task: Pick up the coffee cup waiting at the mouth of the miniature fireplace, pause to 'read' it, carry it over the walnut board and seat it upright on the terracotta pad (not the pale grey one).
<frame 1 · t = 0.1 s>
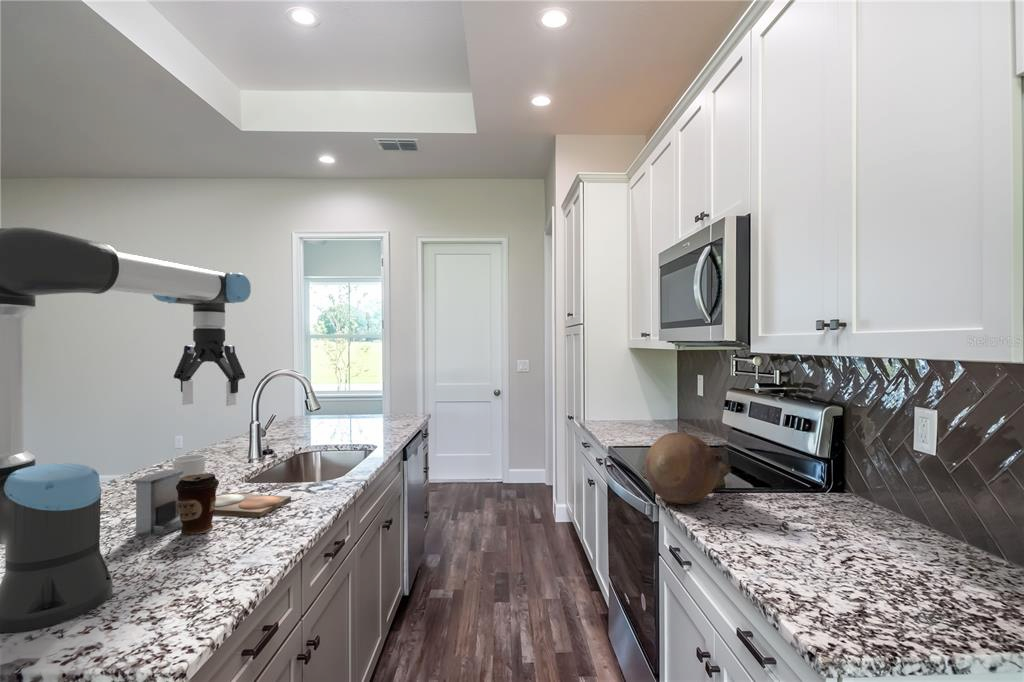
hand: (209, 404, 132), 28 cm above the countertop, fingers open, 13 cm apart
cup: (189, 500, 137), on the countertop
walnut board: (241, 506, 131), on the countertop
jug: (692, 499, 138), on the countertop
coffee cup: (196, 531, 114), on the countertop
miniature fireplace: (162, 528, 116), on the countertop
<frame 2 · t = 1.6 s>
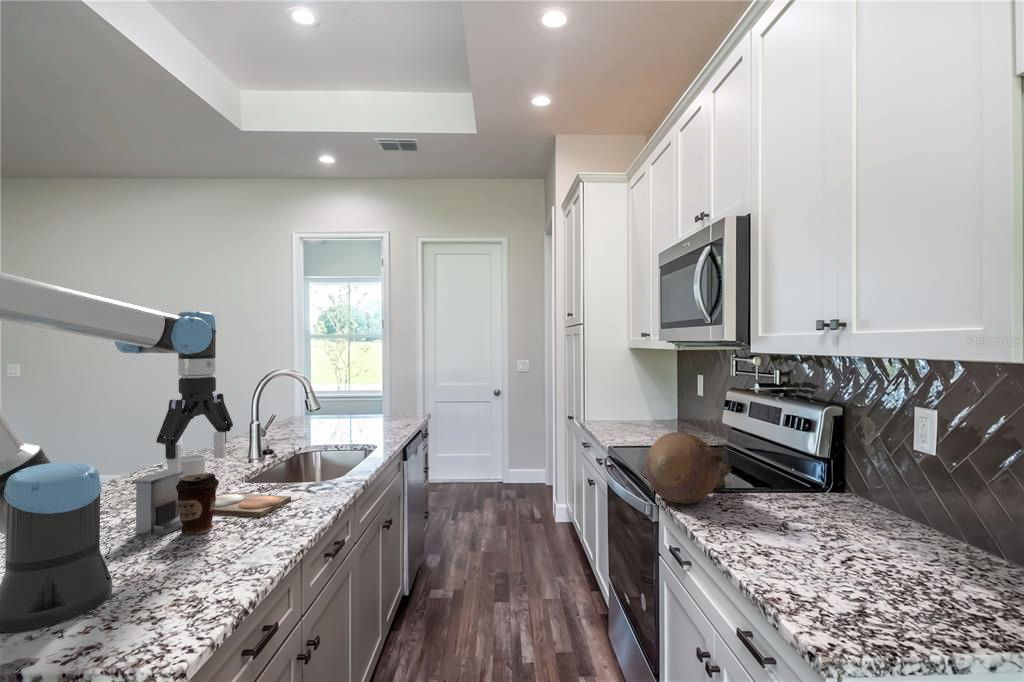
hand: (198, 464, 115), 16 cm above the countertop, fingers open, 13 cm apart
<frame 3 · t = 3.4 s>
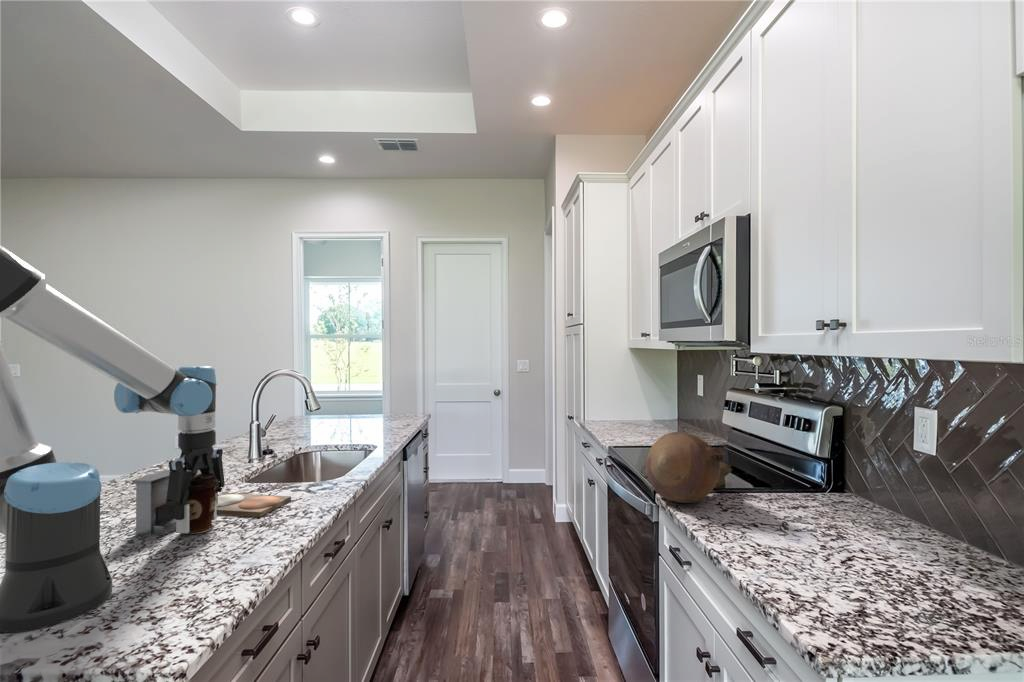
hand: (197, 525, 114), 1 cm above the countertop, fingers closed on coffee cup, 8 cm apart
coffee cup: (197, 531, 114), on the countertop, touching gripper
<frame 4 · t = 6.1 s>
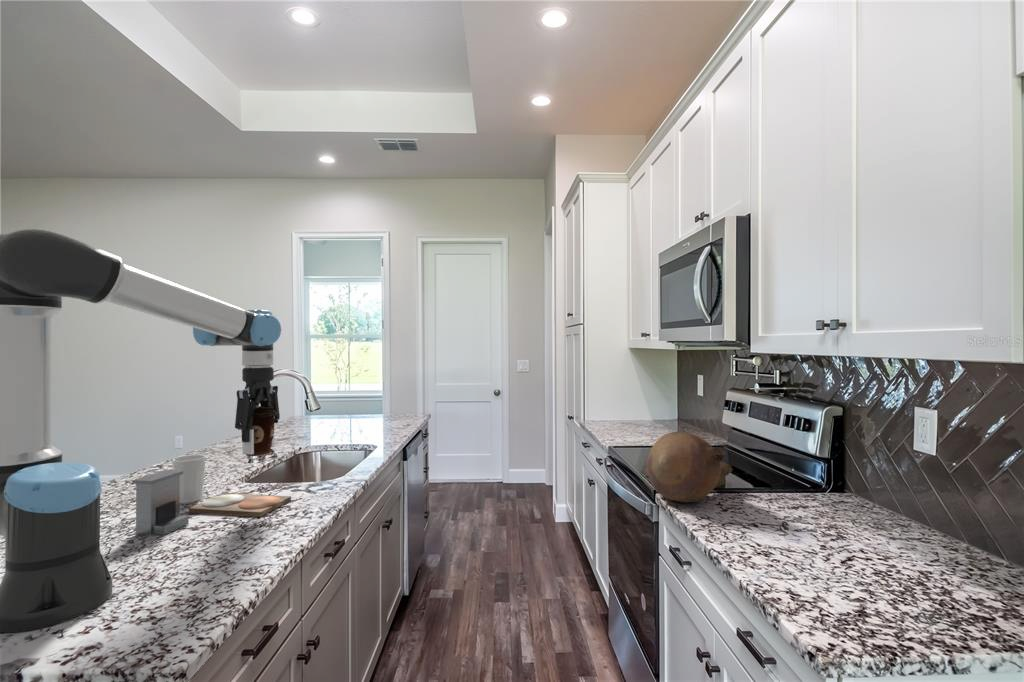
hand: (258, 450, 130), 16 cm above the countertop, fingers closed on coffee cup, 8 cm apart
coffee cup: (258, 455, 130), point 14 cm above the countertop, touching gripper
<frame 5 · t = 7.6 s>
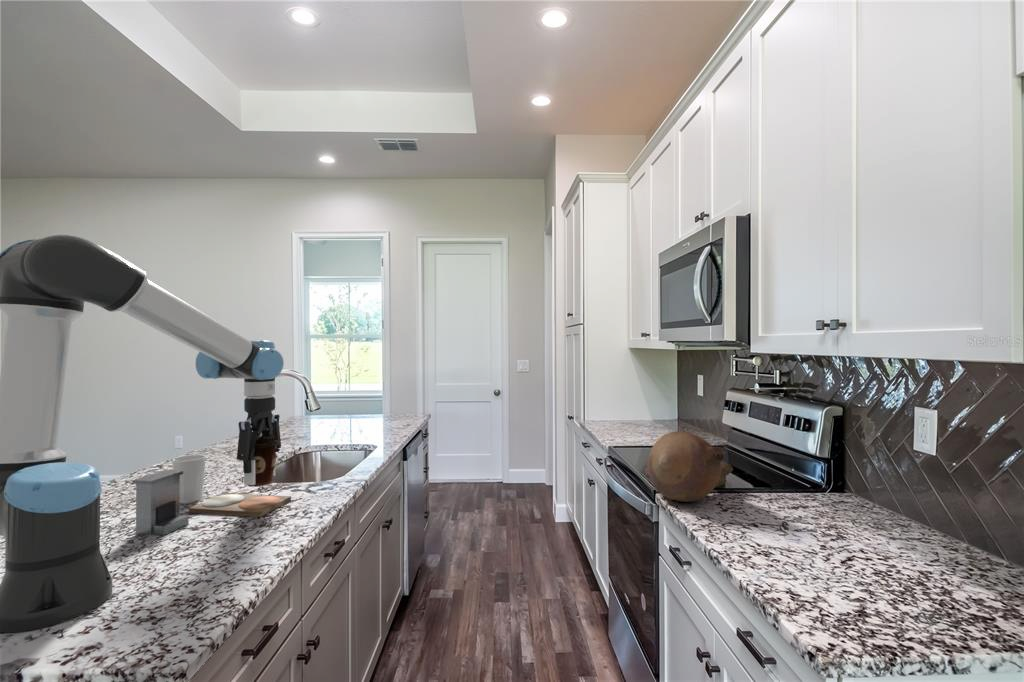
hand: (260, 480, 131), 7 cm above the countertop, fingers closed on coffee cup, 8 cm apart
coffee cup: (260, 485, 131), point 6 cm above the countertop, touching gripper
when the fingers open (4 cm above the countertop, at t = 8.7 s): coffee cup stays where it is, resting on walnut board.
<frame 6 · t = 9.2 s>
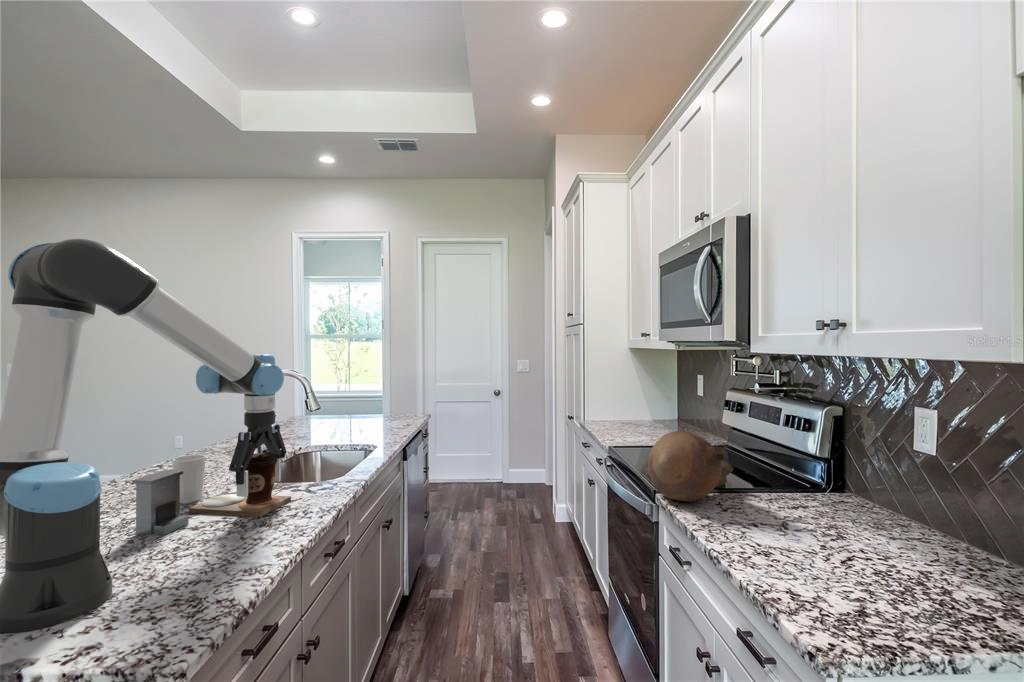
hand: (259, 488, 131), 5 cm above the countertop, fingers open, 13 cm apart
coffee cup: (259, 502, 130), point 1 cm above the countertop, touching walnut board
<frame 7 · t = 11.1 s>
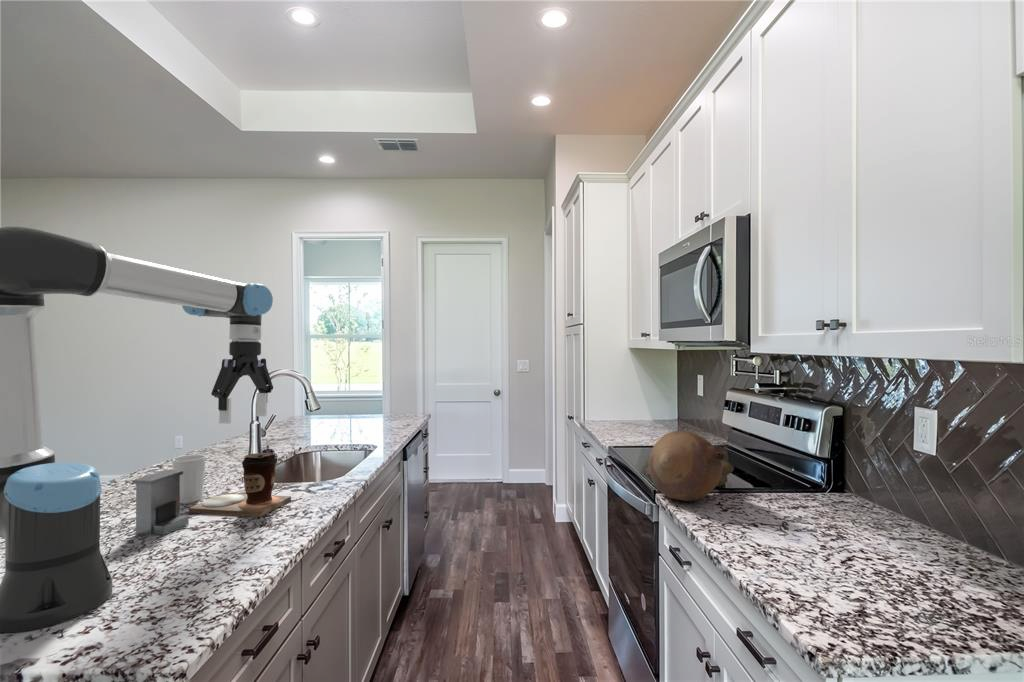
hand: (244, 419, 129), 24 cm above the countertop, fingers open, 13 cm apart
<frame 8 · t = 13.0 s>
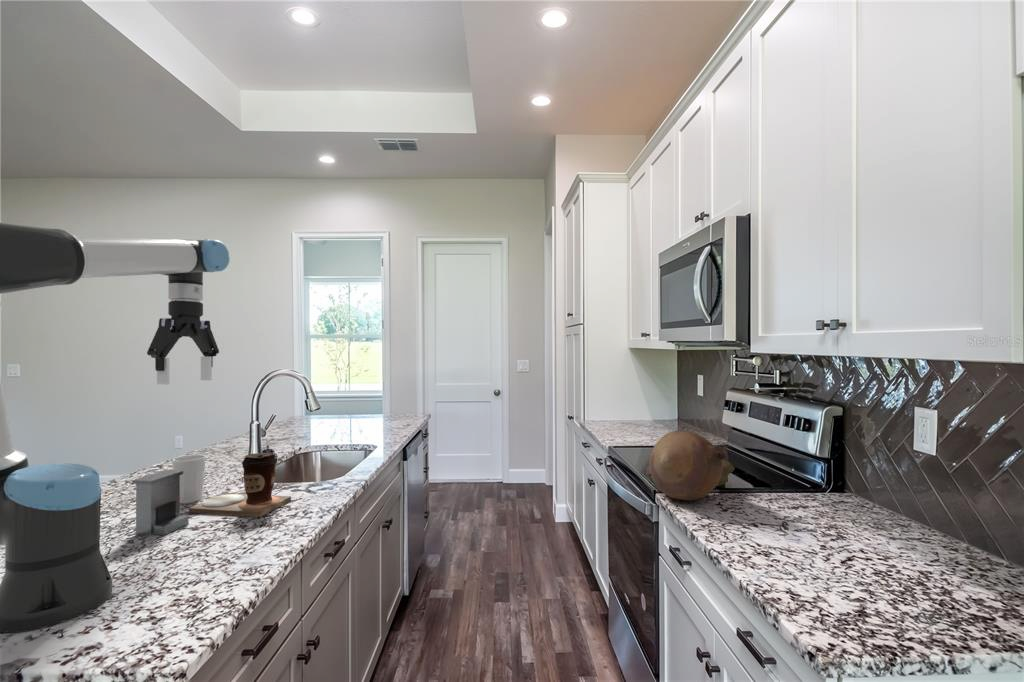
hand: (185, 382, 125), 35 cm above the countertop, fingers open, 13 cm apart
at the end: coffee cup inside the target area on the walnut board (0.2 cm from its centre), point 1.3 cm above the walnut board's base; coffee cup tilted 0°; the gripper is holding nothing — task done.
